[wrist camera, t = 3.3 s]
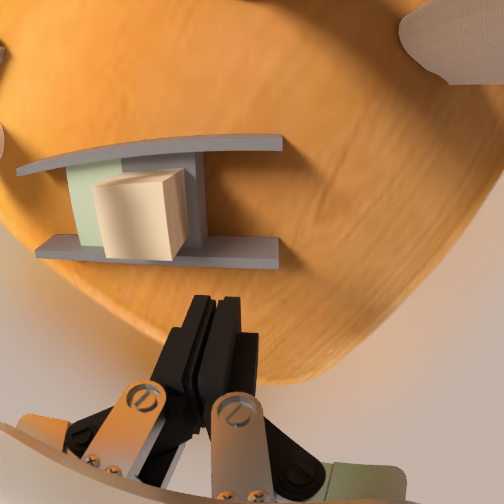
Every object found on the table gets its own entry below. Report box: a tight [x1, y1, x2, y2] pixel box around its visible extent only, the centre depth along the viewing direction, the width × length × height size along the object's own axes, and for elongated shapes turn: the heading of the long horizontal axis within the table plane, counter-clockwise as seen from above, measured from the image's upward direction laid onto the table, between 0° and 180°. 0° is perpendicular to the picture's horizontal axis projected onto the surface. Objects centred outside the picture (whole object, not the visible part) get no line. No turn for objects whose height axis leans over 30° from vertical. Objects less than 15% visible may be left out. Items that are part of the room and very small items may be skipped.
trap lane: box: [16, 134, 283, 270], centre depth 25 cm, size 28×11×4 cm, turn 90°
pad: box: [65, 158, 122, 246], centre depth 26 cm, size 7×9×3 cm
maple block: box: [92, 168, 190, 261], centre depth 22 cm, size 6×6×5 cm
